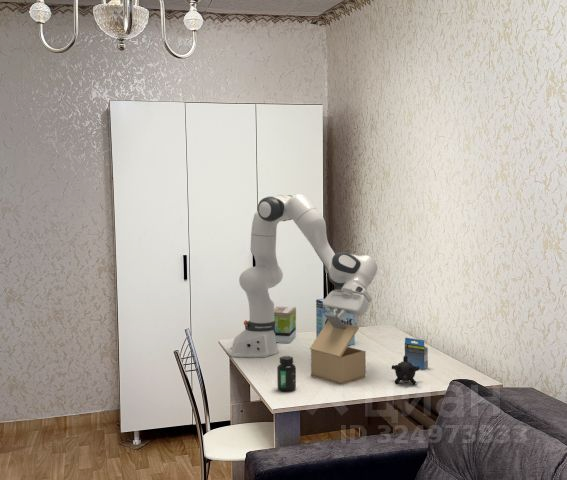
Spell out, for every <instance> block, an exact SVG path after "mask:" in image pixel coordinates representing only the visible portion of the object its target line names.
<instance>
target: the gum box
mask: <svg viewBox="0 0 567 480" xmlns="http://www.w3.org/2000/svg"><path fill="white" fill-rule="evenodd" d="M324 299H325V298H319V299H316V300H315V303H316V305H315V307H316V310H315V311H316V313H315V314H316V315H315V316H316V317H315V318H316V319H315V321H316V322H315V323H316V325H315V329H316V332H315V333H316V334H315V335H316V337H315V339H316V338H317V336H318V335H319V333H320V332H321V330H322V329H323V327H324V326H325V324H326V323H327V321H328V319H327V318H326V317H325V315H324V314H325V313H330V314H334V311H333V310H328V309H326V308H325V307H324V306H323V301H324ZM340 313H341V312H340ZM340 313H339V314H340ZM339 314H338V315H339ZM355 316H356V315H354V314H348V313H347V314H346V316H344V317H343V318H341V321H342V323H343V324H348V325H353V326H356V324H355V320H356V319H355ZM355 337H356V334H355V335H354V337H353V339H352V340H351V342H350V343H349V345H348V346H352V345H355V344H356V341H355V339H356V338H355Z"/></svg>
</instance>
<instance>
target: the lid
mask: <svg viewBox="0 0 567 480" xmlns="http://www.w3.org/2000/svg"><path fill="white" fill-rule="evenodd" d="M324 315H325V317H326V318H327V319H328V321H327V323H326V324H325V326H324V327H323V329H322V330H321V332H320V333H319V335H318V336H317V338H316V337H315V340H314V341H313V343H312V344H311V345H310V347H309V350H310V351H311V350H314V351H318V352H321V353H325V354H329V355H333V356H337V357H341V356H342V355H343V353H344V351H345V350H346V348H347V347H349V346H350V345H349V343H350V342H351V340H352V339H353V337H354V335H355V336H356V334H357V332H358V331H359V326H357V325H355V326H353V325H348V324H343V323H342V321H341V320H340V319H339V318H338V316H337V315H335V314H330V313H325V314H324Z"/></svg>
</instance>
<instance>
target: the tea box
mask: <svg viewBox="0 0 567 480" xmlns="http://www.w3.org/2000/svg"><path fill="white" fill-rule="evenodd" d="M274 320H275V323H276V332H275V338H276V342H279V343H278V344H290V343H291V342H292V341H293V339H295V338H296V336H297V307H296V306H276V307H274Z"/></svg>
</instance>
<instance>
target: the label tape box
mask: <svg viewBox="0 0 567 480" xmlns="http://www.w3.org/2000/svg"><path fill="white" fill-rule="evenodd" d="M414 342H415V343H414ZM428 351H429V349H428V346H425V340H424V339H418V338H413V337H412V338H411V337H404V356H408V362H410V363H411V364H413V366H416V367H417V366H418V367H419V368H420V369H421V370H426V369H428V368H429V359H428V358H429V356H428V354H429V352H428ZM420 369H419V370H420Z"/></svg>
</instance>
